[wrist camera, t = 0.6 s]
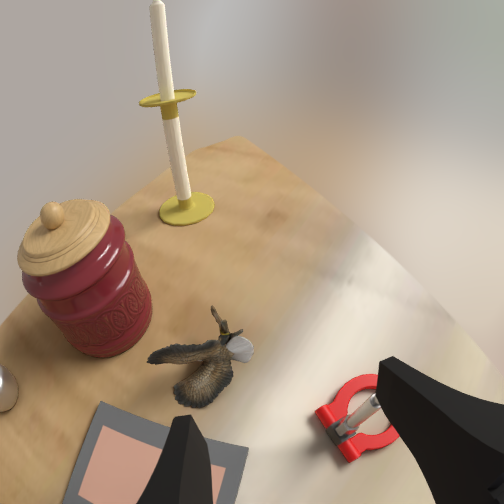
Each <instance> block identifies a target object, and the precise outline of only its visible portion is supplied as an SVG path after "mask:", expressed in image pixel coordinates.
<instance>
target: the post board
mask: <svg viewBox="0 0 504 504" xmlns="http://www.w3.org/2000/svg"><path fill="white" fill-rule="evenodd" d="M169 431H170V427H167V426H164V425H161V424H158V423H155V422H152V421H149V420H147V419H144V418H141V417H139V416H136V415H133V414H131V413H128V412H126V411H123V410H121V409H118V408H116V407H114V406H111V405H109V404H107V403H105V402H102V401H100V404H99V406H98V408H97V411H96V413H95V416H94V418H93V420H92V423H91V425H90V428H89V430H88V433H87V435H86V438H85V441H84V443H83V446H82V448H81V451H80V454H79V456H78V459H77V462H76V465H75V468H74V470H73V473H72V476H71V479H70V482H69V485H68V488H67V491H66V494H65V497H64V500H63V503H62V504H136V503H137V501H138V500H139V498H140V496H141V495H142V493H143V491H144V489H145V487H146V486H147V483H148V481H149V479H150V477H151V475H152V473H153V471H154V469H155V467H156V464H157V462H158V460H159V457H160V455H161V452H162V450H163V447H164V445H165V442H166V439H167V436H168V434H169ZM204 439H205V441H206V442H207V445H208V451H209V457H210V463H211V474H212V492H213V504H235V501H236V497H237V493H238V489H239V486H240V482H241V478H242V474H243V470H244V467H245V463H246V459H247V455H248V451H249V448H248V447H243V446H238V445H233V444H229V443H224V442H220V441H216V440H212V439H208V438H204Z"/></svg>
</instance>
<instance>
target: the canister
mask: <svg viewBox="0 0 504 504" xmlns="http://www.w3.org/2000/svg"><path fill="white" fill-rule="evenodd" d="M17 257H18V258H17V259H18V264H19V267H20V268H21V270H22V281H23V285H24V287H25V289H26V290H27V292H28V293H29V294H30V295H32V296H33V297H35V298H37V301H38V304H39V307H40V308H41V310H42V311H43V312H44V313H45V314H46V315H47V316H48V317H50V319H51V320H52V321H53V322H54V323H55V325H56V326H57V327H58V328H59V329H60V330H61V331H62V333H63V334H64V336H65V338H66V339H67V340H68V341H69V342H70V344H71V345H72V346H73V347H75V348H76V349H78V350H79V351H81V352H83V353H84V354H86V355H89V356H92V357H98V358H105V357H111V356H115V355H118V354H120V353H122V352H124V351H126V350H128V349H129V348H131V347H132V346H133V345H134V344H136V343H137V342H138V341H139V340H140V338H141V337H142V336H143V335H144V333H145V332H146V330H147V328H148V326H149V324H150V321H151V317H152V302H151V295H150V291H149V289H148V287H147V284H146V283H145V281H144V280H143V278H142V277H141V274H140V272H139V269H138V267H137V265H136V262H135V260H134V254H133V251H132V249H131V247H130V245H129V244H128V243H127V242H126V241H125V231H124V227H123V225H122V223H121V222H120V221H119V220H118V219H117V218H116V217H114V216H112V215H110V212H109V210H108V208H107V207H106V206H105V205H104V204H103V203H101V202H98V201H94V200H82V199H75V200H69V201H65V202H63V203H60V204H58V203H56V202H49V203H47V204H45V205H44V206H43V207H42V209H41V212H40V216H39V217H38V218H37V219H36V220H35V221H34V222H33V223H32V224H31V225H30V227H29V228H28V230H27V231H26V233H25V236H24V238H23V241H22V243H21V245H20V247H19V250H18V256H17Z"/></svg>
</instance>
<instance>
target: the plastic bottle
mask: <svg viewBox="0 0 504 504" xmlns="http://www.w3.org/2000/svg"><path fill="white" fill-rule="evenodd" d="M17 398H18V385H17V382H16V379H15V377H14V376H13V374H12V373H11V372H10V371H9V370H8V369H7V368H6V367H5V366H3V365H1V364H0V412H3V411H7V410H9V409H11V408H12V407H13V406H14V404H15V403H16V401H17Z"/></svg>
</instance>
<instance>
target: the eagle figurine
mask: <svg viewBox="0 0 504 504" xmlns="http://www.w3.org/2000/svg"><path fill="white" fill-rule="evenodd" d="M211 312H212V315H213V316H214V317H215V319H216V322H217V323H218V324H219V327H220V334H221V335H220V336H219V340H208V341H206V343H203V344H202V345H200V344H199V345H195V344H192V345H180V344H174V345H170V347H168V346H167V347H166V348H162V349H160V350H157V351H155V352H153V353H152V354H151V355H150V357H148V361H147V363H150V364H155V365H157V364H163V363H172V364H187V363H191V362H195V361H203V363H202V364H201V366H200V367H199V368H198V369H197V370H196V371H195V372H194V373H193V374H191V375H190V376H189V377H188V378H187V379H185V380H183V381H181V382H179V383H177V384H176V385H175V386H174V388H175V391H174V394H175V395H176V396H175V400H178V403H179V404H184V406H185V407H188V406H190V405H192V408H195V407H198V408H201V407H204V406H205V405H209V403H212V402H213V399H215V398H216V397H217V396H218V393H220V392H221V391H222V390H223V389H224V387H227V385H229V384H230V382H231V380H232V377H233V371H232V366H230V365H231V361H230V360H236V361H240V362H243V363H247V362H248V361H249V360H250V359H251V356H252V355H253V353H254V350H253V349H254V346H253V345H252V343H251V342H250V341H249V340H248V339H246V338H244V337H241V336H238V335H239V334H241V333H242V332H243V329H241V330H239V331H237V332H235V333H231V334H230V332H229V329H228V325H227V321H226V320H222V319H221V318H220V316H219V315H218V314H217V311H216V310H215V308H214V307H213V306H211ZM225 344H226V345H225Z"/></svg>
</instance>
